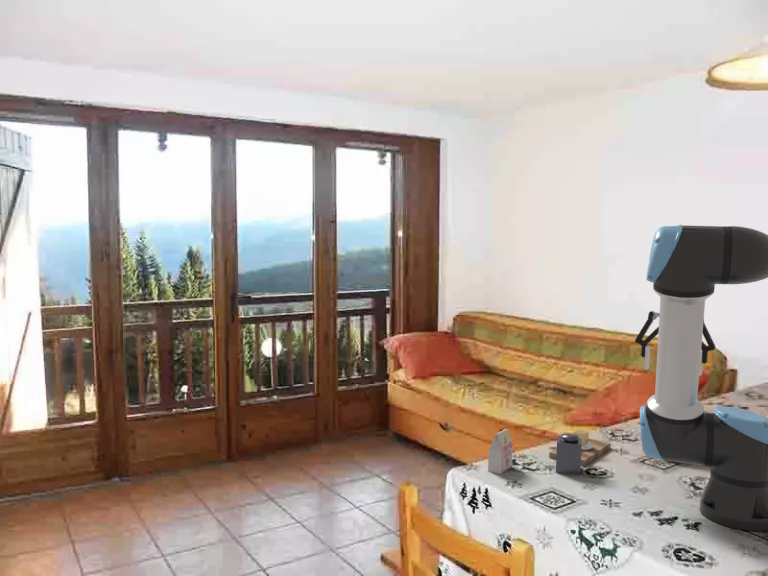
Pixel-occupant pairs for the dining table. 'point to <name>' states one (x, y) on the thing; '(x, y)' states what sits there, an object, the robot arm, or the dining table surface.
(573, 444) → the grey cube with knob
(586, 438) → the block
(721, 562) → the dining table surface
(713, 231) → the robot arm
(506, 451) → the white gable top carton
